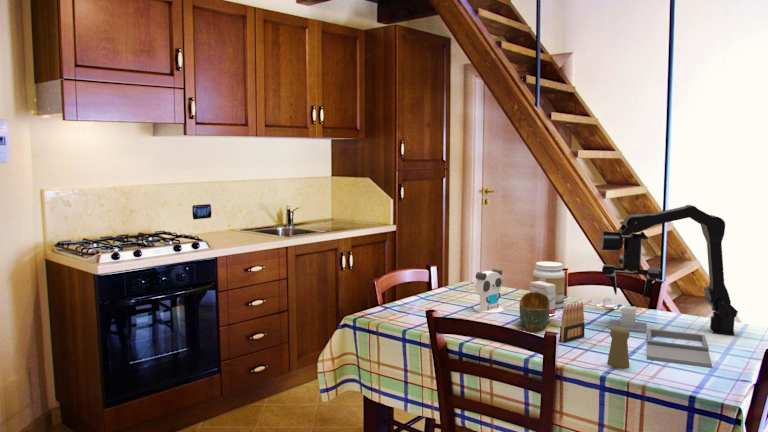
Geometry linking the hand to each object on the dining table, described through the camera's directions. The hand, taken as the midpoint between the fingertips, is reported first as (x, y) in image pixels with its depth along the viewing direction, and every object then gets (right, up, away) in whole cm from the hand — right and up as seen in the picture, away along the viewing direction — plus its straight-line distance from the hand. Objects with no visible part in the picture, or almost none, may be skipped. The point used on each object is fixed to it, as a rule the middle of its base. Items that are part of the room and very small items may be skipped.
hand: (629, 295), depth 218 cm
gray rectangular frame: (+5, -14, -24) cm, 28 cm away
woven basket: (-33, -11, +2) cm, 35 cm away
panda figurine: (-46, -8, +22) cm, 52 cm away
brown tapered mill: (-19, -15, -39) cm, 46 cm away
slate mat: (0, -11, +1) cm, 11 cm away
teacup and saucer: (-1, -9, +28) cm, 29 cm away
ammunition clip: (-25, -13, -15) cm, 31 cm away
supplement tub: (-21, -8, +29) cm, 37 cm away
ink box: (-26, -9, +16) cm, 32 cm away
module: (0, -10, +1) cm, 10 cm away
